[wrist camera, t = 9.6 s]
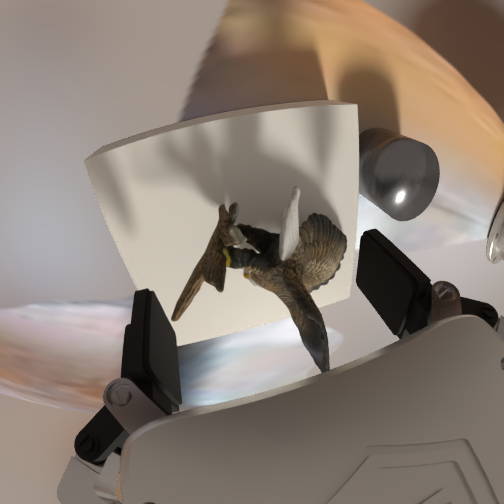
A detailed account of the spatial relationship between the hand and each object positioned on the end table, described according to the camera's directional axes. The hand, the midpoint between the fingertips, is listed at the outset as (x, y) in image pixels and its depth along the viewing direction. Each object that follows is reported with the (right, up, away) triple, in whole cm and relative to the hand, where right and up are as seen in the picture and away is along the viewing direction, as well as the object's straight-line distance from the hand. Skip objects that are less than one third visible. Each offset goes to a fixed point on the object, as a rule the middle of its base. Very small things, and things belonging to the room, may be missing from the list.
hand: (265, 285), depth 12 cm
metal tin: (+8, +7, +5) cm, 12 cm away
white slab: (-2, +3, +5) cm, 6 cm away
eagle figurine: (+1, +2, +3) cm, 4 cm away
